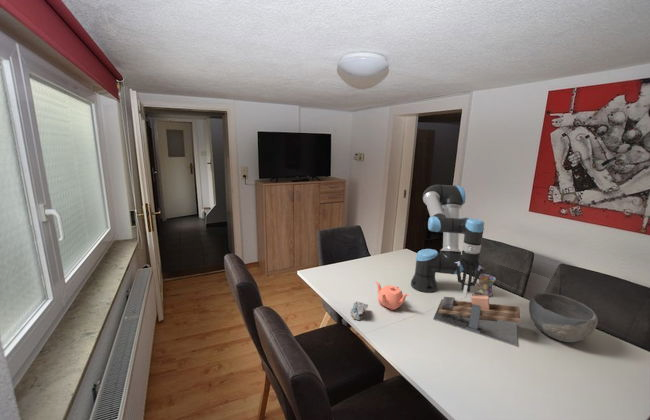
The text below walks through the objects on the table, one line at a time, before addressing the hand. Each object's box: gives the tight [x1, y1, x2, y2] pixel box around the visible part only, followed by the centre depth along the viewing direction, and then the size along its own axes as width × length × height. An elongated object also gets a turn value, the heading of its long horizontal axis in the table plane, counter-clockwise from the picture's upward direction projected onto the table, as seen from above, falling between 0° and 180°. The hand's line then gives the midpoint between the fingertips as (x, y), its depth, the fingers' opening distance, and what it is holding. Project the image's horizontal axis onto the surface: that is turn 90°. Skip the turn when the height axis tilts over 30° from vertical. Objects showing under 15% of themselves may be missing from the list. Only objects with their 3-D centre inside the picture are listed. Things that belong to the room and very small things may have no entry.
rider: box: [470, 293, 490, 310], centre depth 137 cm, size 7×4×7 cm, turn 58°
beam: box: [438, 296, 522, 323], centre depth 138 cm, size 34×12×7 cm, turn 58°
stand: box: [432, 290, 518, 347], centre depth 138 cm, size 35×18×13 cm, turn 58°
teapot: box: [375, 281, 410, 311], centre depth 152 cm, size 14×14×11 cm
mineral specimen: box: [350, 301, 369, 321], centre depth 142 cm, size 10×8×10 cm
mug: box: [472, 273, 497, 297], centre depth 169 cm, size 12×9×11 cm
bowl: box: [528, 292, 599, 343], centre depth 131 cm, size 24×24×15 cm
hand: (464, 296), depth 140 cm, fingers closed
